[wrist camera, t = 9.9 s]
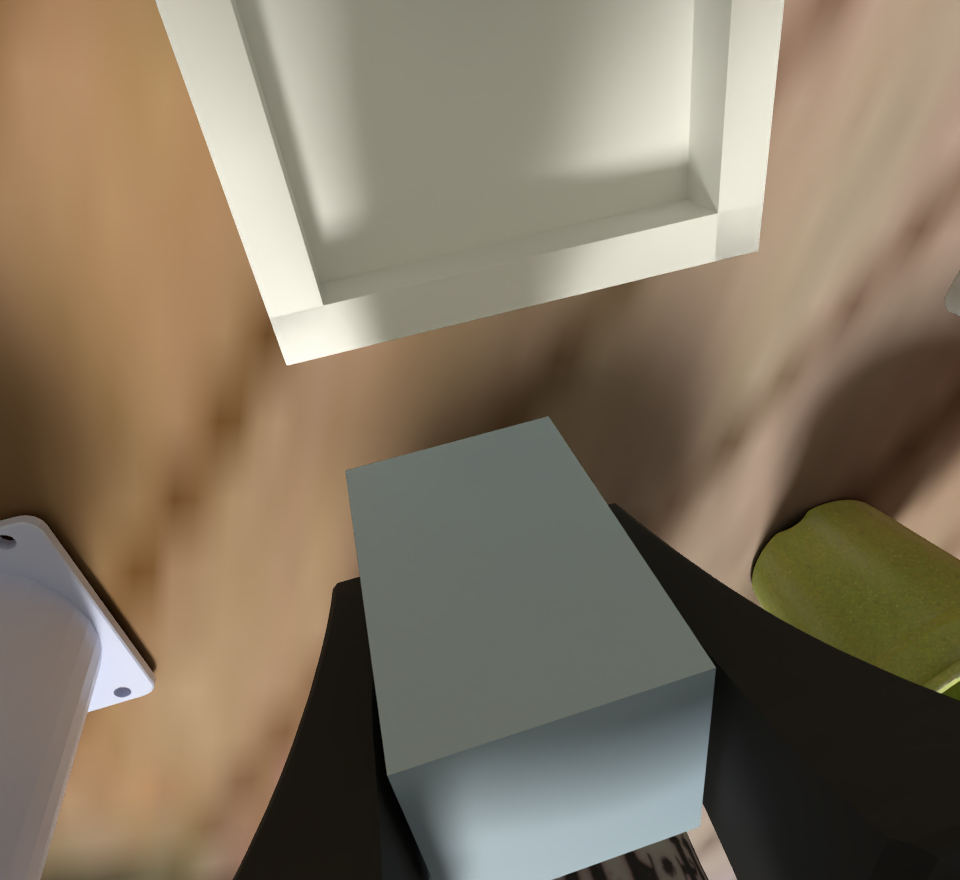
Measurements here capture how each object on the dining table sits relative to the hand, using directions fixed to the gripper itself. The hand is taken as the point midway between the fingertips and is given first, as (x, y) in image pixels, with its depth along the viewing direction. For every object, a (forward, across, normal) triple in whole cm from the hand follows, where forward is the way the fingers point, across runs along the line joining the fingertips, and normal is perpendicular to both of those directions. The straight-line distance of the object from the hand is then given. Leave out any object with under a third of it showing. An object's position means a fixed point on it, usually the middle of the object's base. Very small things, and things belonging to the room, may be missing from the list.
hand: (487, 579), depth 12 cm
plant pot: (+8, -15, +13) cm, 22 cm away
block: (+2, 0, 0) cm, 2 cm away
